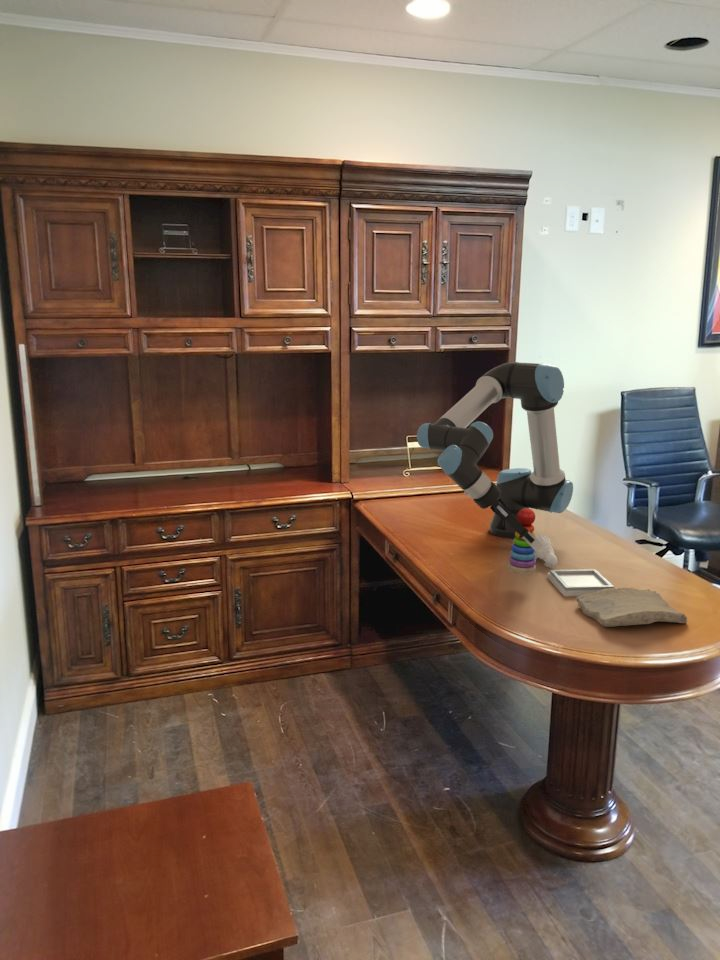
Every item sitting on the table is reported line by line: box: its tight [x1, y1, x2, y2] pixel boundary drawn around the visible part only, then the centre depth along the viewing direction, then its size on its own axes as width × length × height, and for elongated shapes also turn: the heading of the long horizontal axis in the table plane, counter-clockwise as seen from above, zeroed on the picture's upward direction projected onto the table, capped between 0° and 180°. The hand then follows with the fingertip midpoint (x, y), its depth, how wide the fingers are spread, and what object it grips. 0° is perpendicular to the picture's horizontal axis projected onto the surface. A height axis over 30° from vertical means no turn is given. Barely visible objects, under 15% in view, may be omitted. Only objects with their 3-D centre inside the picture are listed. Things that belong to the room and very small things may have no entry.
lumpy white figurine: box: [534, 533, 558, 569], centre depth 234 cm, size 6×8×12 cm
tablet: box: [575, 587, 688, 628], centre depth 195 cm, size 24×8×20 cm
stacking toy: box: [507, 508, 537, 575], centre depth 213 cm, size 8×8×19 cm
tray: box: [547, 568, 615, 597], centre depth 216 cm, size 15×15×2 cm
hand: (535, 544), depth 213 cm, fingers closed on stacking toy, 6 cm apart
